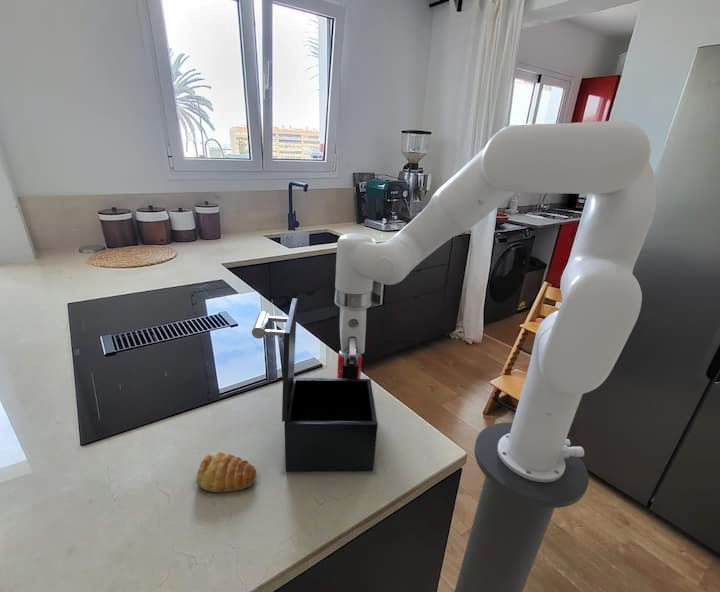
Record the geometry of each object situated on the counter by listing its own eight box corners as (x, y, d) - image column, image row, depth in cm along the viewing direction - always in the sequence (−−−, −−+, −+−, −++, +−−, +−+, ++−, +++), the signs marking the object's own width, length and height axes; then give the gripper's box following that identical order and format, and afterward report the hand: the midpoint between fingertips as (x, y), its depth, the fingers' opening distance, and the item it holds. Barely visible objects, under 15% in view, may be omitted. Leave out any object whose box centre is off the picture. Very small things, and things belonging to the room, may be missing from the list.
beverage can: (363, 400, 89) (366, 355, 84) (343, 407, 87) (345, 361, 82) (351, 389, 93) (354, 344, 88) (332, 395, 91) (334, 350, 86)
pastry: (261, 466, 70) (260, 450, 68) (249, 498, 64) (247, 481, 62) (209, 461, 70) (207, 445, 69) (193, 493, 64) (189, 476, 63)
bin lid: (297, 298, 70) (261, 295, 69) (289, 333, 58) (246, 330, 57) (294, 376, 77) (261, 374, 76) (286, 421, 65) (248, 420, 64)
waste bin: (367, 421, 83) (370, 378, 78) (373, 471, 71) (377, 424, 66) (292, 421, 82) (291, 377, 77) (285, 472, 69) (284, 423, 65)
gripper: (375, 314, 72) (368, 391, 79) (368, 282, 87) (362, 348, 95) (335, 313, 71) (331, 390, 78) (334, 280, 87) (331, 348, 94)
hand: (348, 367), depth 87 cm, fingers open, 9 cm apart
